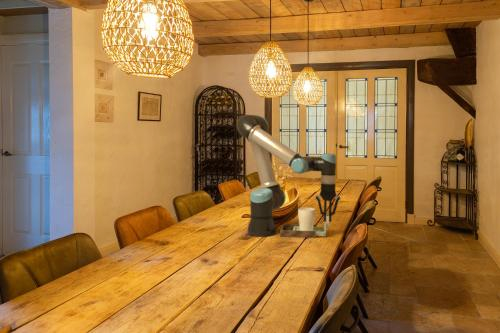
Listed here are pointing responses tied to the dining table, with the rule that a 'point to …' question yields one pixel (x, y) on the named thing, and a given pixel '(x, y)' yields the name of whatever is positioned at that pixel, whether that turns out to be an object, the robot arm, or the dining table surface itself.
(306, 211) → the cup
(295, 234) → the dock
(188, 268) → the dining table surface
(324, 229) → the tray
